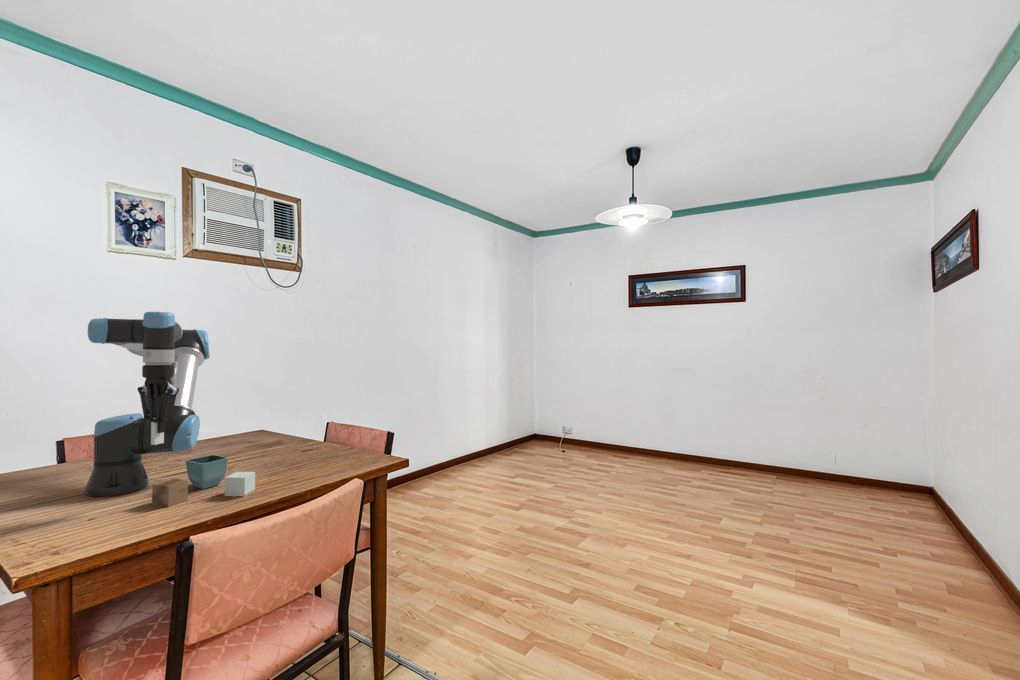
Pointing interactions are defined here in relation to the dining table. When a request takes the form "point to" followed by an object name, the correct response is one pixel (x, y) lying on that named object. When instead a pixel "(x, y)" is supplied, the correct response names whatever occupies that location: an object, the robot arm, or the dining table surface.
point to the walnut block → (169, 492)
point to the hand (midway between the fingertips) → (157, 443)
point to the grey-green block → (239, 483)
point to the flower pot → (206, 470)
